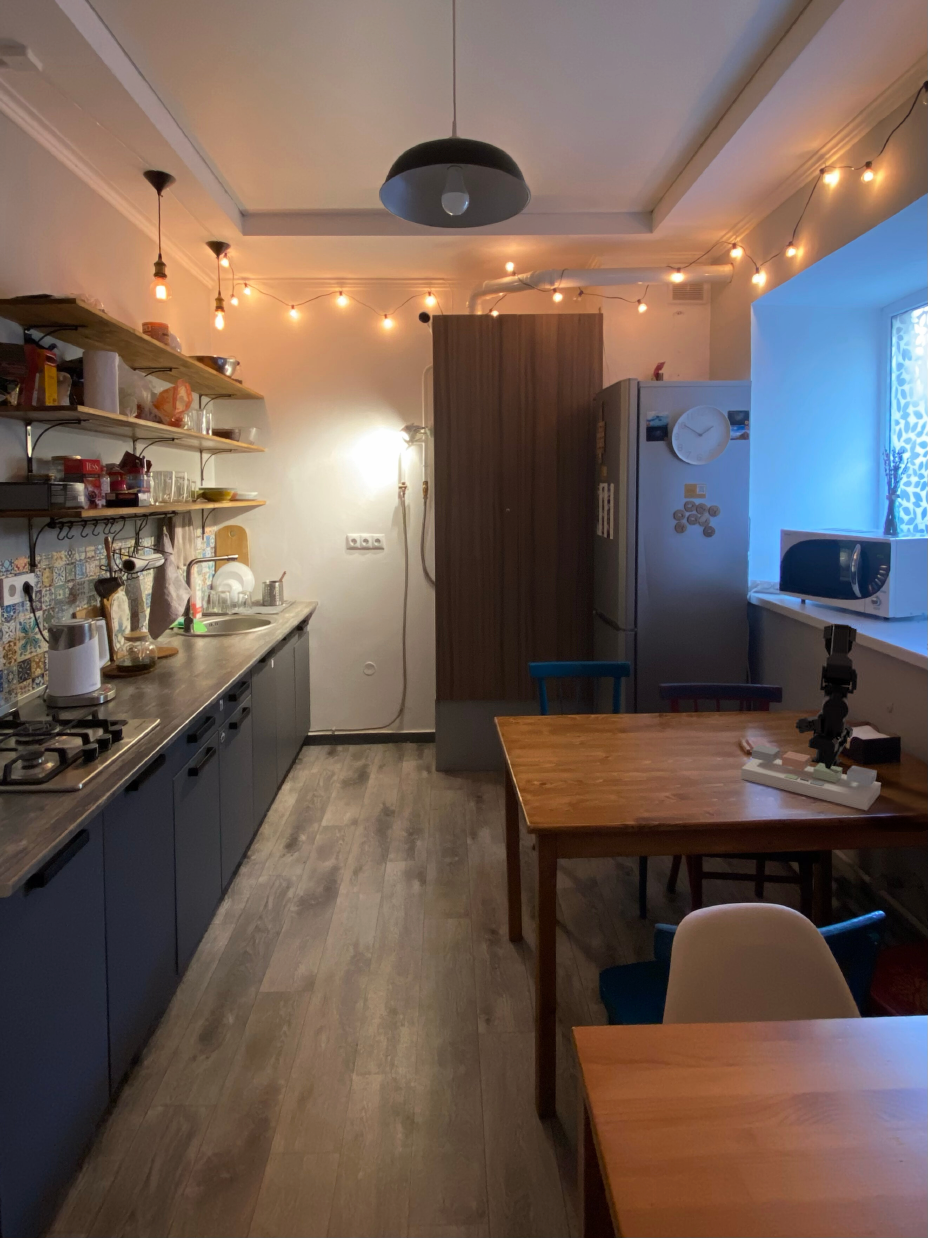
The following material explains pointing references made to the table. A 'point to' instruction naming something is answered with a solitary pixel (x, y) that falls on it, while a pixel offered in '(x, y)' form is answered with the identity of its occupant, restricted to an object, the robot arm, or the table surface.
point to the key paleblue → (861, 775)
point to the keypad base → (811, 783)
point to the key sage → (827, 773)
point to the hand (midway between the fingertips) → (828, 768)
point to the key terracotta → (796, 760)
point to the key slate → (765, 753)
